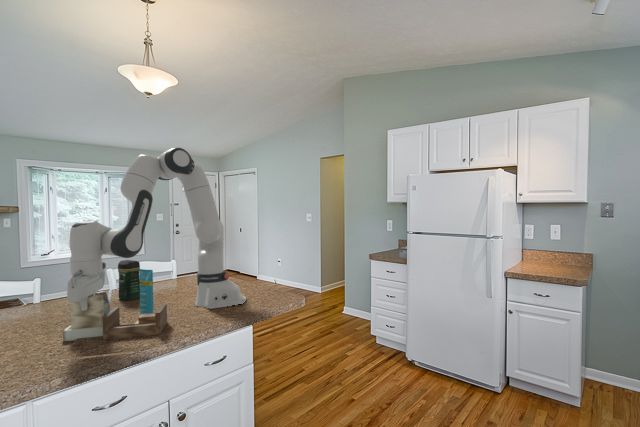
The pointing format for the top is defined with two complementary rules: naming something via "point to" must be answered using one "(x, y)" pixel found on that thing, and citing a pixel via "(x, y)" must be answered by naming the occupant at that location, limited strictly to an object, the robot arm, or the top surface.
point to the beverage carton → (105, 302)
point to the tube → (146, 291)
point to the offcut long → (143, 323)
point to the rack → (132, 325)
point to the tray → (81, 333)
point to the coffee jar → (129, 280)
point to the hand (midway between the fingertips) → (87, 308)
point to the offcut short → (147, 318)
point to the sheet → (88, 313)
